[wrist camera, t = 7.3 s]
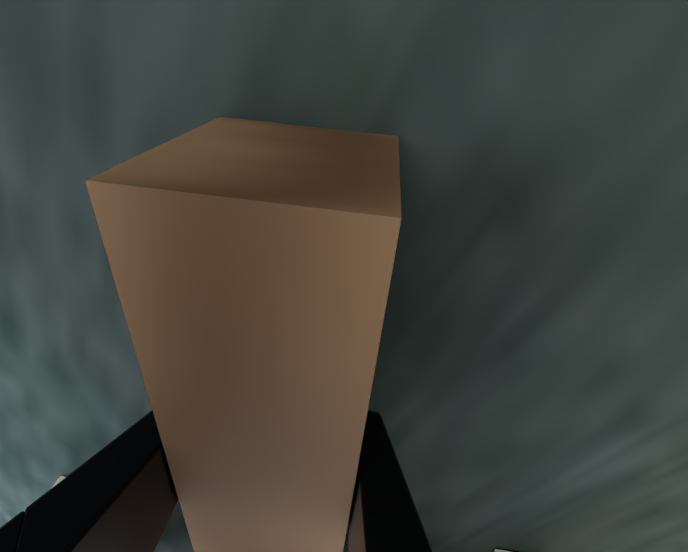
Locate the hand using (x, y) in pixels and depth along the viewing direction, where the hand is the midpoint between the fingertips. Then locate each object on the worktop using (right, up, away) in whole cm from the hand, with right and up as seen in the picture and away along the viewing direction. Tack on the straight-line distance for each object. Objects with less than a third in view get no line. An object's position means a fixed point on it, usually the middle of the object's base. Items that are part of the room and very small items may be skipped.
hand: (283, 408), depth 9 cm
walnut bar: (0, -4, +5) cm, 7 cm away
